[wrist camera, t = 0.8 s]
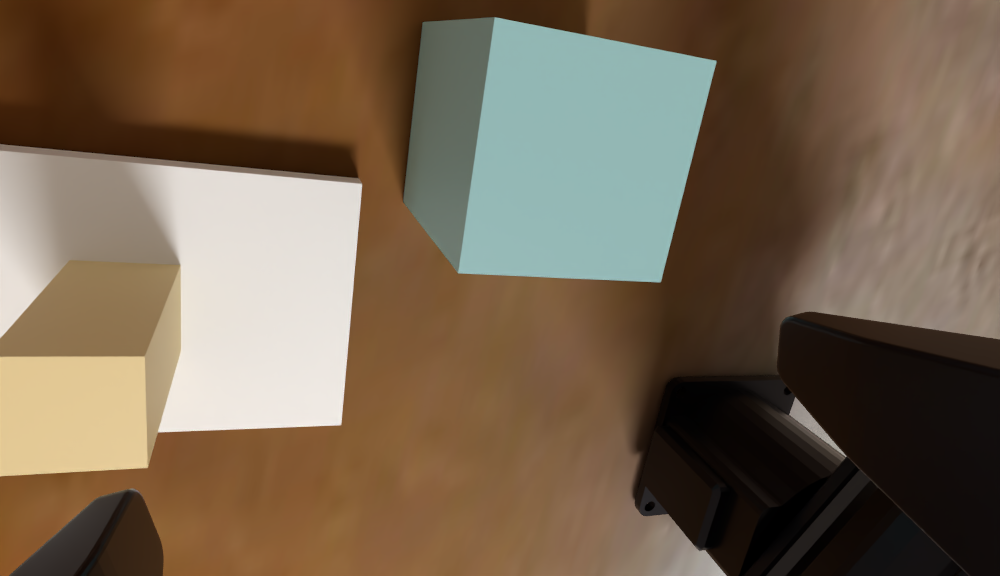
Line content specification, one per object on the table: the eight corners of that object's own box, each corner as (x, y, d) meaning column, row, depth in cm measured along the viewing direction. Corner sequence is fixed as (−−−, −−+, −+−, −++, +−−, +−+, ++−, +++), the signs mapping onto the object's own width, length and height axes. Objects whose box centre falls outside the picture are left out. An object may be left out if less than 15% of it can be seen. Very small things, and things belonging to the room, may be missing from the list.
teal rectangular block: (586, 52, 20) (716, 60, 14) (555, 214, 21) (660, 282, 16) (422, 22, 18) (494, 16, 12) (402, 201, 20) (458, 272, 14)
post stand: (359, 178, 19) (396, 239, 13) (338, 412, 22) (362, 547, 16) (-166, 128, 15) (-437, 188, 9) (-113, 426, 17) (-298, 616, 12)
